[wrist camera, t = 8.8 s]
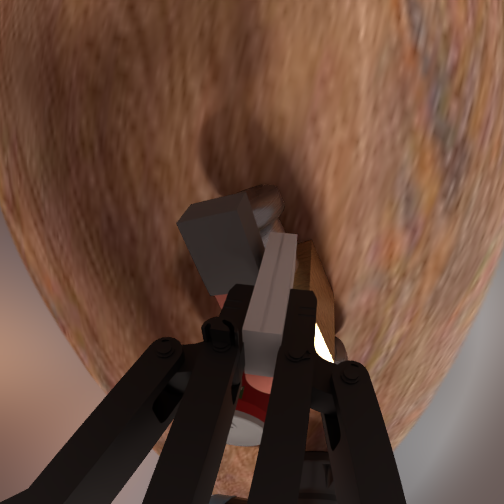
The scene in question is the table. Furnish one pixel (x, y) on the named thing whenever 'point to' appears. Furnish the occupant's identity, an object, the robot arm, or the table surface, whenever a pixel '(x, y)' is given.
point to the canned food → (248, 416)
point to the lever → (225, 250)
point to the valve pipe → (301, 270)
